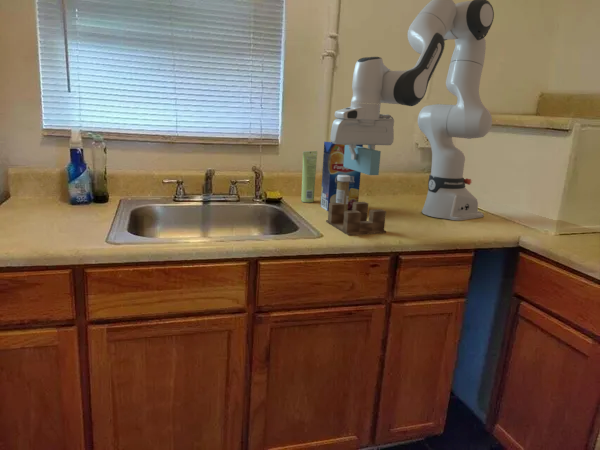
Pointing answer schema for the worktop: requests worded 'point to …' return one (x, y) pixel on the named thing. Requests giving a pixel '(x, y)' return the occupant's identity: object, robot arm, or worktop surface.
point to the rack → (356, 219)
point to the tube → (308, 176)
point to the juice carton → (332, 169)
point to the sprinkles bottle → (343, 190)
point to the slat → (363, 160)
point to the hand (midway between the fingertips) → (360, 159)
